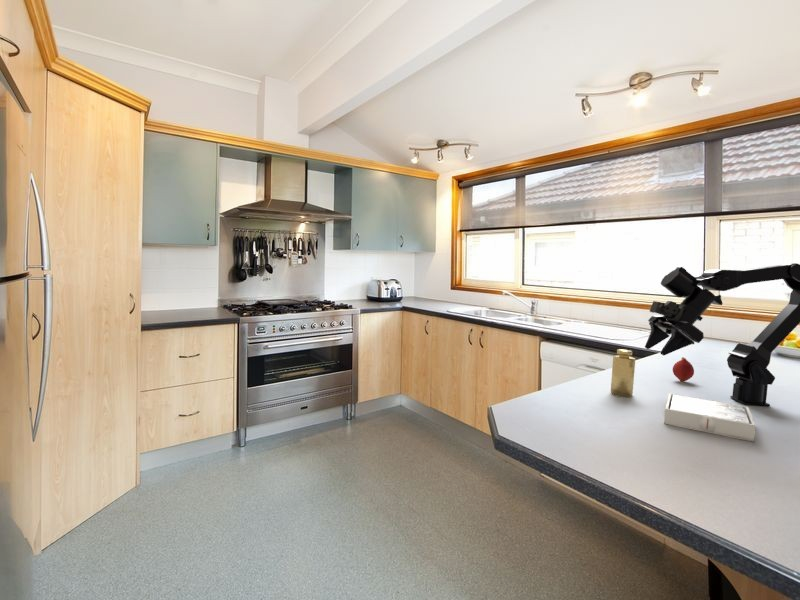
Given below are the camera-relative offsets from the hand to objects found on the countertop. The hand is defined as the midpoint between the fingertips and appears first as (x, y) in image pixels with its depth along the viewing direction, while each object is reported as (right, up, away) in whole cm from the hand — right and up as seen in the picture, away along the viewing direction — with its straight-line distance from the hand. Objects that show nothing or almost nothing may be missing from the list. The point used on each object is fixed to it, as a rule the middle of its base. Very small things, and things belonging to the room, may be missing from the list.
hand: (653, 351), depth 121 cm
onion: (+21, -12, +19) cm, 31 cm away
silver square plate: (0, -12, -20) cm, 23 cm away
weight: (-8, -12, +1) cm, 15 cm away
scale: (0, -14, -20) cm, 25 cm away
